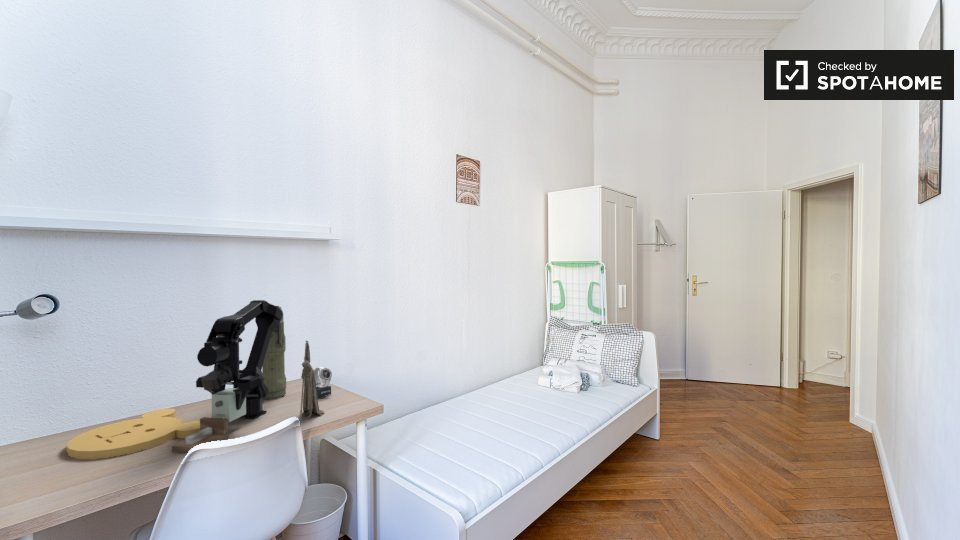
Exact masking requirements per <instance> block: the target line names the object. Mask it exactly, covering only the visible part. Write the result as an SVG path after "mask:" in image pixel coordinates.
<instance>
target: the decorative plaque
mask: <svg viewBox="0 0 960 540" xmlns="http://www.w3.org/2000/svg"><path fill="white" fill-rule="evenodd" d="M176 411H177V410H176V409H175V408H161V409H156V410H151V411H148V412H146V413H144V414H141V417H139V418H135V419H134V418H133V419H128V420H122V421H118V422H113V423H110V424H107V425H106V424H105V425H103V426H99V427H95V428H93V429H91V430H87V431H84V432H83V433H80V434H77V435H76V436H74V437H73V438H72V439H70V440H69V441H68V443H66V454H67V453H68V454H67V456H68V455H69V456H70V457H69V456H68V457H69V458H72V457H73V458H72V459H75V458H76V460H98V459H99V460H101V459H109V457H111V458H114V457H113V456H116V457H120V455H122V456H126V455H125V454H127V455H132V454H134V453H139V452H142V451H141V450H143V451H145V449H146V450H149V448H150V449H153V448H154V447H157V445H158V446H160V445H159V444H161V445H163V444H165V442H166V443H167V442H170V441H172V440H174V439H175V438H177V437H178V438H177V439H186V437H188V436H190V435H192V434H194V433H196V432H198V431H200V419H197V420H191V421H186V422H183V421H182V420H181V419H179V418H178V417H177V412H176ZM175 417H176V418H175ZM174 437H175V438H174ZM162 443H163V444H162ZM138 451H139V452H138ZM131 453H132V454H131ZM100 458H101V459H100Z"/></svg>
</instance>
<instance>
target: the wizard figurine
mask: <svg viewBox="0 0 960 540" xmlns="http://www.w3.org/2000/svg"><path fill="white" fill-rule="evenodd" d="M304 345H305V346H304V357H303V362H302V363H301V366H302V371H301V376H300V377H301V378H300V379H302V386H301V402H300V412H299V413H300V414H299V415H300V418H302V413H303V412H306V413H305V414H306V415H308V416H307V417H306V419H310V418H311V417H312V416H313V413H315V414H317V415H318V416H321V417H322V416H323V415H324V414H325V411H324V410H321V409H320V405H319V400H318V399H319V398H317V390H316V387H317V386H316V381H315V375H314V370H315V369H314V368H313V367H312V364H311V352H310V350H311V349H310V344H309V341H308V340H305V344H304Z"/></svg>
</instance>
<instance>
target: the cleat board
mask: <svg viewBox="0 0 960 540" xmlns="http://www.w3.org/2000/svg"><path fill="white" fill-rule="evenodd" d="M199 420H200V431H198V432H196V433H194V434H192V435H190V436H188V437H186V438H184V439H183V440H181V441H179V442H177V443H175V444H173V445H171V452H174V451H176V452H175V453H177V451H178V453H188V451H189V450H190V449H191V448H193V447H194V446H196V445H199V444H201V443H206V442H211V441H217V440H221V441H223V440H225V439H227V438H228V437H229V428H228V427H229V425H228V424H229V422H228V419H225V418H212V417H207V416H204V417H201V418H200V419H199Z"/></svg>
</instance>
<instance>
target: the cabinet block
mask: <svg viewBox="0 0 960 540" xmlns="http://www.w3.org/2000/svg"><path fill="white" fill-rule="evenodd" d="M234 389H237V388H233V387H232V388H231V387H228V388H225V390H223V391H220V392H217V393H215V394H211V418H225V419H228V423H231V422H232V421H234V420H235V421H236V420H237V419H240V418H239V417H241V416H243V415H245V414H246V398H245V400H244V402H243V404H242V406H241V408H240V409H239V410H237V408H236V394H235V393H234V392H233V390H234Z"/></svg>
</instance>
